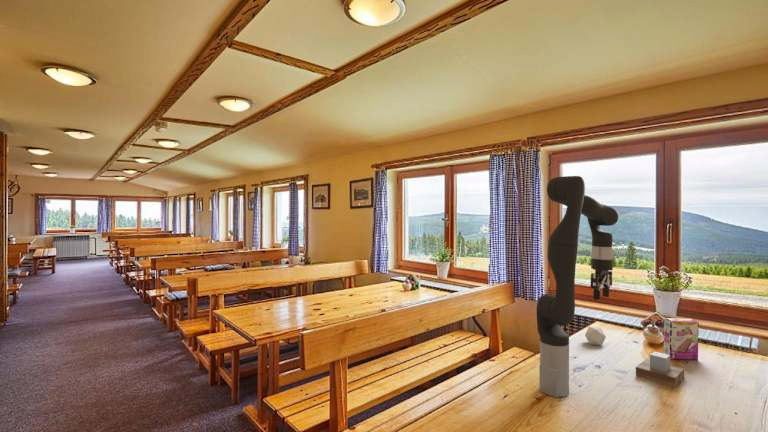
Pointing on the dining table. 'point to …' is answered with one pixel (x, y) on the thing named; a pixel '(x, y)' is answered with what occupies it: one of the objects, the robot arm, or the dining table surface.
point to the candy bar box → (681, 338)
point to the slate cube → (660, 361)
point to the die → (595, 336)
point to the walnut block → (660, 374)
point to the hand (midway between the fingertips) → (601, 298)
